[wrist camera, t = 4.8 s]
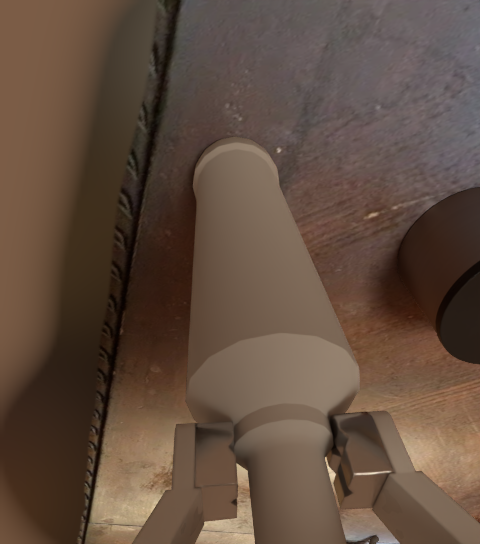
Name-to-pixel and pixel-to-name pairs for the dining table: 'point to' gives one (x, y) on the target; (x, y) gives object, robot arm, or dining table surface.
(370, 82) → the dining table surface
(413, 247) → the canister
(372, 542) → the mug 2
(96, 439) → the dining table surface
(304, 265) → the bottle
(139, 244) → the dining table surface
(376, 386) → the dining table surface
